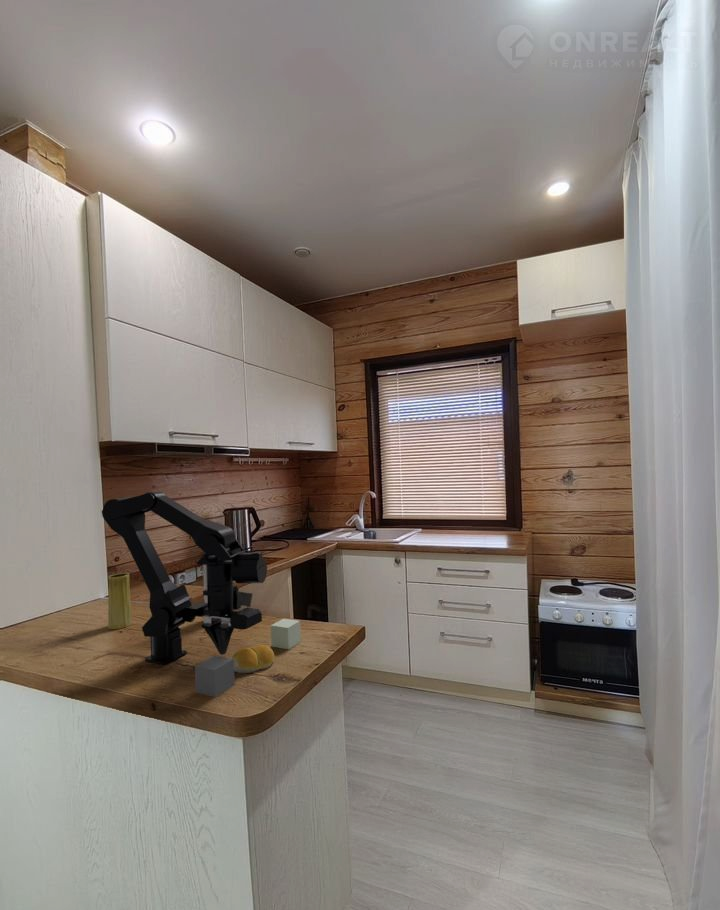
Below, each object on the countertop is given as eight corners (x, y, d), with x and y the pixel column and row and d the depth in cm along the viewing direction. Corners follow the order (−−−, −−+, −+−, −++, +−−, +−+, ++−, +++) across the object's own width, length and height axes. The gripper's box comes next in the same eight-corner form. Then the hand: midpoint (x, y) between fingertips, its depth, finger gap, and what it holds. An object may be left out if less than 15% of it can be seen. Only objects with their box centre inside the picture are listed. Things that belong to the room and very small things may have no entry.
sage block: (271, 646, 104) (270, 625, 104) (284, 639, 108) (283, 618, 108) (288, 649, 102) (287, 627, 102) (301, 641, 106) (300, 620, 106)
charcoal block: (195, 692, 83) (194, 665, 83) (215, 680, 88) (214, 655, 88) (215, 697, 81) (214, 670, 81) (234, 685, 85) (233, 659, 86)
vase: (136, 623, 125) (135, 573, 126) (115, 631, 120) (113, 578, 121) (125, 620, 129) (123, 571, 129) (103, 627, 123) (102, 576, 124)
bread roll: (280, 665, 93) (279, 646, 94) (238, 678, 89) (238, 658, 89) (266, 653, 100) (265, 635, 101) (226, 664, 95) (226, 645, 96)
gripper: (275, 577, 102) (278, 645, 101) (215, 573, 110) (218, 636, 109) (243, 590, 92) (246, 665, 91) (179, 584, 100) (182, 653, 99)
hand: (223, 653), depth 98 cm, fingers closed
